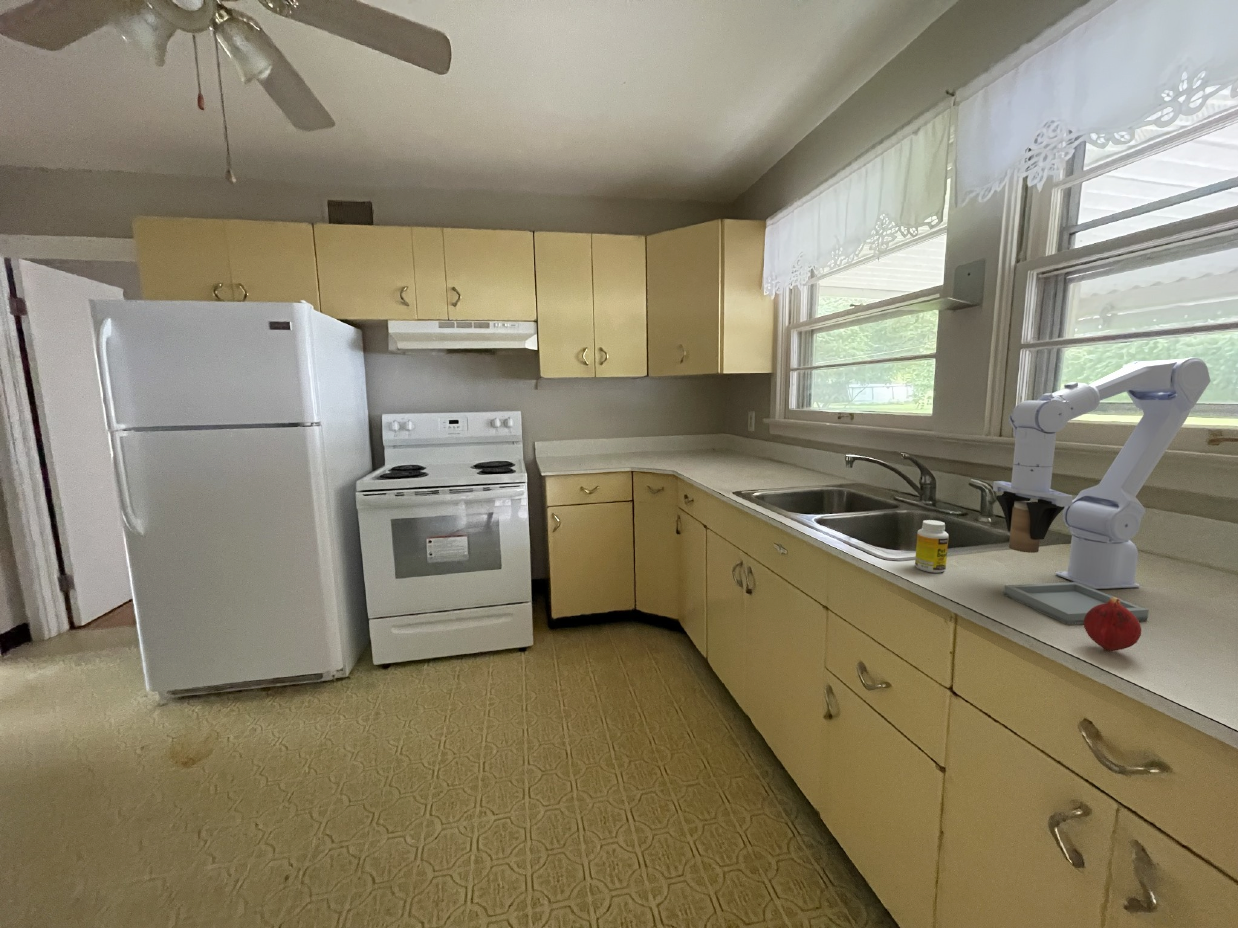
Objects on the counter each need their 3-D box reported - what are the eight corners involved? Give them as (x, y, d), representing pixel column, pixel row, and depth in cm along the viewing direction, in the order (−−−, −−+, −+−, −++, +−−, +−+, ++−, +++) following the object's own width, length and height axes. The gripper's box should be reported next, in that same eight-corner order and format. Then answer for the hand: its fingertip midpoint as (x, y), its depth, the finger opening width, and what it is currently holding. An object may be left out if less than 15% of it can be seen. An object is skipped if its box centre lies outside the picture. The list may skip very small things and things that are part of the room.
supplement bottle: (938, 575, 100) (941, 527, 99) (909, 568, 105) (913, 521, 104) (950, 570, 104) (954, 522, 102) (922, 562, 108) (926, 517, 107)
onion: (1144, 666, 67) (1152, 610, 66) (1086, 654, 70) (1093, 601, 69) (1129, 647, 72) (1136, 595, 71) (1076, 637, 75) (1082, 587, 74)
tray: (1074, 591, 92) (1075, 581, 92) (1147, 620, 80) (1148, 609, 80) (1003, 594, 91) (1004, 585, 91) (1067, 624, 79) (1068, 613, 79)
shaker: (1024, 545, 97) (1028, 500, 95) (1044, 552, 92) (1049, 505, 91) (1003, 546, 96) (1007, 501, 95) (1022, 553, 92) (1027, 506, 91)
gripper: (981, 460, 99) (975, 525, 101) (1049, 471, 84) (1040, 547, 86) (1014, 459, 99) (1007, 524, 101) (1087, 470, 85) (1078, 546, 87)
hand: (1025, 535), depth 94 cm, fingers closed on shaker, 4 cm apart
